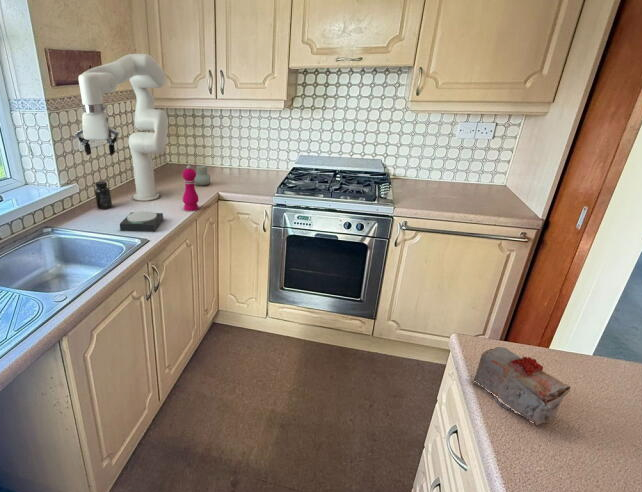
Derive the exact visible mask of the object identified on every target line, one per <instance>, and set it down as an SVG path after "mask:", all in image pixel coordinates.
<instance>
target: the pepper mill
mask: <svg viewBox="0 0 642 492" xmlns="http://www.w3.org/2000/svg"><path fill="white" fill-rule="evenodd" d="M196 174H197V173H196V170H195V169H194V168H192V166H191V165H190V164H188V165H187V166H186V168H185V169H184V170H183V171H182V178H183V184H184V185H185V186H184V187H185V190H184V193H183V194H182V203H183V204H184V205H183V209H184V210H185V211H188V212H193V211H197V210H198V209H199V204H198V203H199V196H198V193H197V191H196V188H195V177H196Z"/></svg>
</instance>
